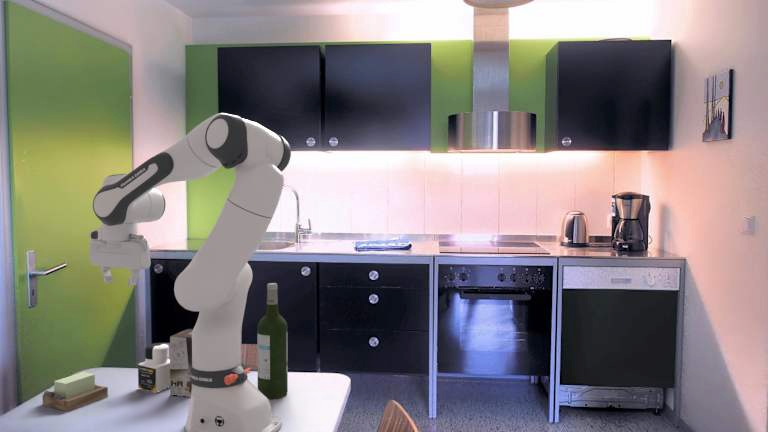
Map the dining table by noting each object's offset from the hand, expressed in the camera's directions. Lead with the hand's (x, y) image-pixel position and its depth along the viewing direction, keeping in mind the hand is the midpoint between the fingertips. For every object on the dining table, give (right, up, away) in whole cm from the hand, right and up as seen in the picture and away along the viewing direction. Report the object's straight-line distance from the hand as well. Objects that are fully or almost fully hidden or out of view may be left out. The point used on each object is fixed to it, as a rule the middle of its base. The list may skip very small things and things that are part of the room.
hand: (120, 283), depth 150 cm
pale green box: (-8, -28, -8) cm, 31 cm away
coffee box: (+19, -30, 0) cm, 35 cm away
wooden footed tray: (-8, -29, -8) cm, 31 cm away
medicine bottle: (+9, -29, +2) cm, 31 cm away
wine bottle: (+42, -30, -3) cm, 52 cm away
